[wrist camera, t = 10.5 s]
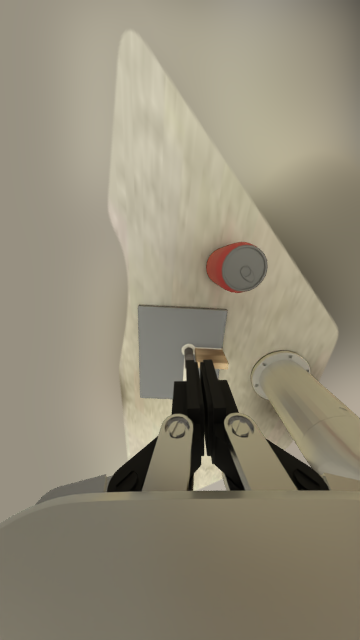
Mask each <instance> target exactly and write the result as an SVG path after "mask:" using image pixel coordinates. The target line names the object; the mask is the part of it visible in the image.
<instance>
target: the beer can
mask: <svg viewBox="0 0 360 640" xmlns="http://www.w3.org/2000/svg"><path fill="white" fill-rule="evenodd" d="M267 268H268V267H267V259H266V257H265V254H264V253H263V252H262V251H261V250H260V249H259V248H257V247H256V246H254V245H252V244H250V243H246V242H238V243H233V244H230V245H228V246H225V247H222V248H219V249H217V250H216V251H214V252H213V253H212V254H211V255H210V257H209V259H208V261H207V266H206V269H207V274H208V276H209V278H210V279H211V280H212V281H213V282H214V283H216V284H217V285H219V286H220V287H222V288H223V289H225V290H227V291H230V292H235V293H240V292H245V291H249V290H252V289H254V288H255V287H257V286H258V285H259V284H260V283H261V282H262V281H263V279H264V277H265V276H266V272H267Z"/></svg>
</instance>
